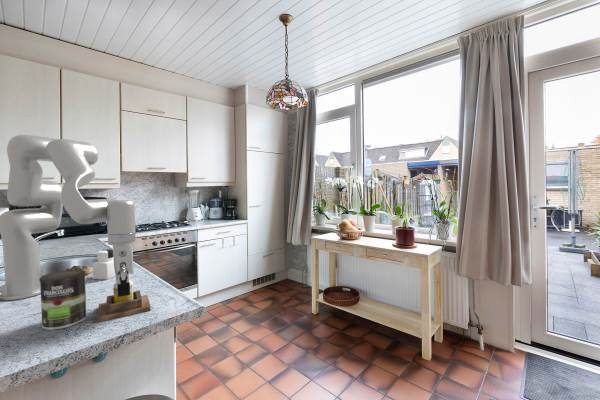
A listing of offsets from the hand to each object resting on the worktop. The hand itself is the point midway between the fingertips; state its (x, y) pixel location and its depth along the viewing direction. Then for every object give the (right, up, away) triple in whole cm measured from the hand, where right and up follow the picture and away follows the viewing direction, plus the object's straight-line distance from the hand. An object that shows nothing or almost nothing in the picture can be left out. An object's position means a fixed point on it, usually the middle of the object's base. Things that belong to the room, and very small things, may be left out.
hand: (123, 290), depth 90 cm
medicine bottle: (-28, -5, +33) cm, 44 cm away
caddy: (0, -6, 0) cm, 6 cm away
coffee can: (-12, -7, -8) cm, 16 cm away
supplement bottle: (0, -5, 0) cm, 5 cm away
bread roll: (-44, -5, +37) cm, 57 cm away
